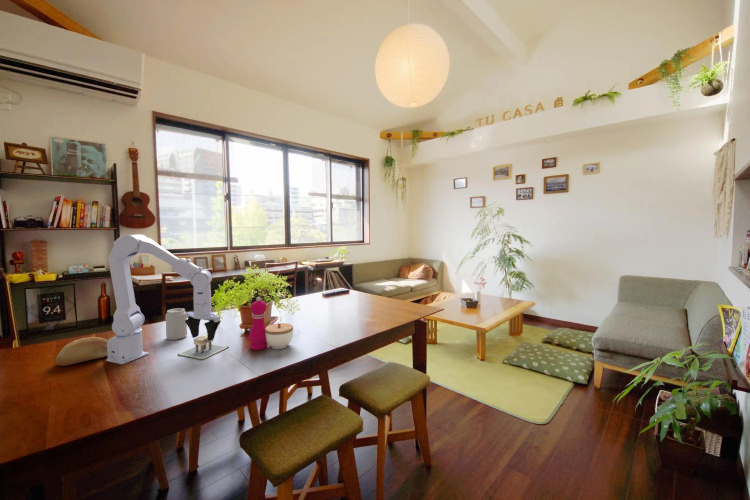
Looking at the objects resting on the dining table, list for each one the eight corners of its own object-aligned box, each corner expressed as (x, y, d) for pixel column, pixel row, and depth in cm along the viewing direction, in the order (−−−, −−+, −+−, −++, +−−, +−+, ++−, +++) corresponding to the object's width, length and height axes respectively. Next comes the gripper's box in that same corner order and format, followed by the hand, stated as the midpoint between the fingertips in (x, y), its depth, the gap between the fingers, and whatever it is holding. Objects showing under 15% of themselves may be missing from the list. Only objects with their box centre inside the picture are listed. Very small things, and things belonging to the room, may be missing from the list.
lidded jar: (259, 348, 123) (258, 325, 122) (278, 339, 133) (278, 317, 132) (280, 353, 118) (280, 329, 118) (298, 344, 128) (298, 321, 127)
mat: (202, 360, 112) (202, 358, 112) (177, 355, 116) (177, 353, 116) (228, 347, 123) (228, 346, 123) (204, 343, 127) (204, 342, 127)
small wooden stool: (205, 347, 122) (204, 334, 122) (213, 348, 121) (212, 335, 121) (194, 352, 118) (193, 338, 117) (202, 353, 116) (202, 340, 116)
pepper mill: (262, 351, 120) (262, 299, 119) (245, 349, 121) (244, 298, 120) (271, 344, 127) (271, 295, 126) (254, 342, 128) (254, 294, 127)
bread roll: (116, 358, 112) (115, 336, 112) (56, 372, 101) (55, 348, 101) (112, 350, 119) (111, 330, 118) (56, 362, 108) (54, 340, 107)
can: (191, 334, 136) (190, 307, 135) (178, 341, 129) (177, 312, 128) (175, 334, 137) (174, 307, 136) (161, 340, 130) (160, 311, 129)
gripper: (226, 302, 119) (226, 337, 120) (196, 298, 124) (197, 332, 125) (211, 306, 113) (211, 343, 114) (180, 302, 117) (181, 338, 118)
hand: (203, 338), depth 119 cm, fingers open, 7 cm apart
